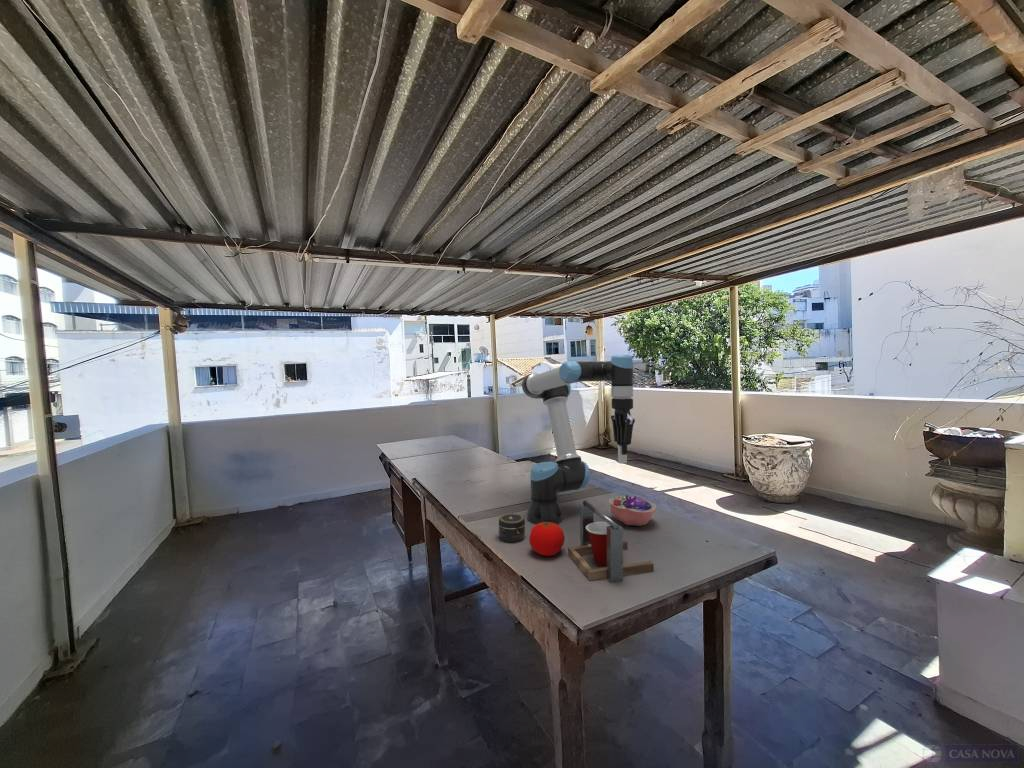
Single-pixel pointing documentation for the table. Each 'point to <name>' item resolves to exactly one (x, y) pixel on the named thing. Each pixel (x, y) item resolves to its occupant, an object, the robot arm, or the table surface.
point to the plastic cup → (598, 541)
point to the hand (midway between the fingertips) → (622, 462)
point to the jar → (511, 527)
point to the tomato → (546, 538)
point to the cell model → (632, 510)
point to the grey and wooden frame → (614, 549)
